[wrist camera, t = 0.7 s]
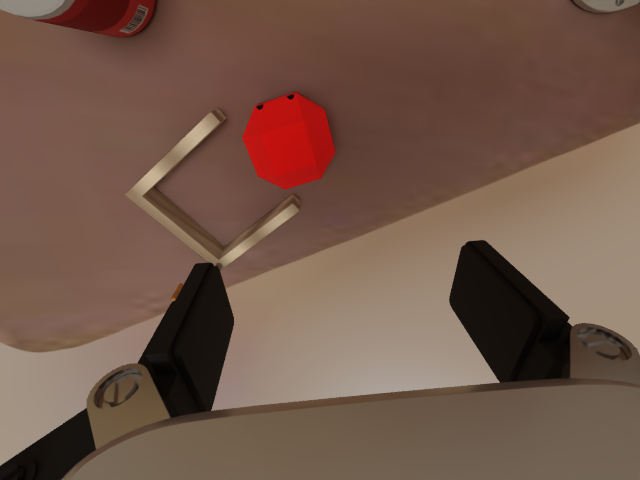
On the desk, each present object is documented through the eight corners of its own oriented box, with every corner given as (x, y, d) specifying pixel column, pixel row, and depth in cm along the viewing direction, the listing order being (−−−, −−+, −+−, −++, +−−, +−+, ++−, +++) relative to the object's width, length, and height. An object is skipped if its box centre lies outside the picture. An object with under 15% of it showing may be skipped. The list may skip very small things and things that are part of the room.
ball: (314, 84, 29) (320, 86, 23) (334, 158, 33) (343, 178, 27) (242, 108, 30) (227, 117, 23) (270, 178, 34) (263, 202, 27)
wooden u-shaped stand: (218, 108, 30) (176, 126, 19) (299, 200, 36) (300, 252, 25) (138, 185, 33) (67, 235, 23) (224, 257, 39) (198, 323, 29)
